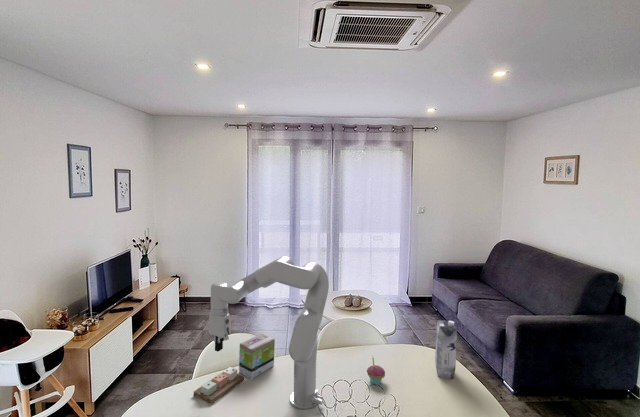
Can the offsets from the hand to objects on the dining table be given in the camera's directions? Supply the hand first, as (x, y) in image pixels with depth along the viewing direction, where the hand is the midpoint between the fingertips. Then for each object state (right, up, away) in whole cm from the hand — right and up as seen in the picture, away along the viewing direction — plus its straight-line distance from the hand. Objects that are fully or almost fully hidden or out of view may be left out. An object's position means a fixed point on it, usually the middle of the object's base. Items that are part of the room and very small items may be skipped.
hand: (218, 349), depth 150 cm
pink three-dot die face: (0, -16, +1) cm, 16 cm away
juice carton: (+108, -19, +16) cm, 111 cm away
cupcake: (+72, -19, +9) cm, 75 cm away
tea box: (+14, -17, +17) cm, 28 cm away
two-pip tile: (+3, -15, +7) cm, 17 cm away
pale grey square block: (-3, -16, -5) cm, 17 cm away
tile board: (0, -18, +1) cm, 18 cm away
